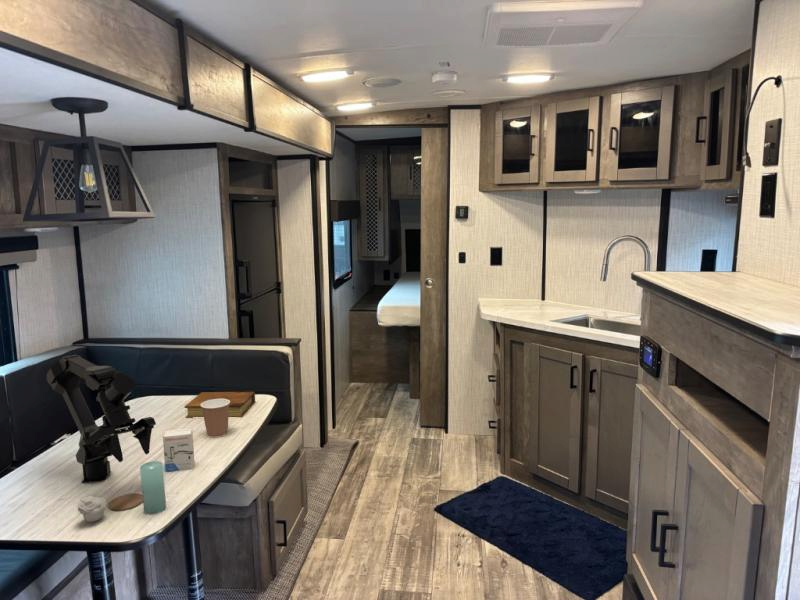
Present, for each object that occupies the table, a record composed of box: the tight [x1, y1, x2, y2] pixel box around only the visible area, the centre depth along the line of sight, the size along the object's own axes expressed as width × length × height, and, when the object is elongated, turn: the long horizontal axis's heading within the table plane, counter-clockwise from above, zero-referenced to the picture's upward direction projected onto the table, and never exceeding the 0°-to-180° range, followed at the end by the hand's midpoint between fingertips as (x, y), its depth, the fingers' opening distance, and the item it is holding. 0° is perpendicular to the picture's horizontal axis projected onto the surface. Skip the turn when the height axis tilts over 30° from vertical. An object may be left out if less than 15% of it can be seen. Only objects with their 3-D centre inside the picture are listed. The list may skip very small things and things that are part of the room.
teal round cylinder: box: [139, 460, 167, 515], centre depth 151 cm, size 6×6×12 cm
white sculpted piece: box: [76, 495, 107, 523], centre depth 146 cm, size 6×7×7 cm
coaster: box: [107, 492, 143, 512], centre depth 155 cm, size 9×9×1 cm
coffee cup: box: [201, 399, 230, 438], centre depth 204 cm, size 10×10×12 cm
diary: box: [184, 391, 256, 419], centre depth 232 cm, size 23×19×6 cm
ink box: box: [162, 428, 195, 473], centre depth 177 cm, size 9×5×12 cm, turn 105°
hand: (134, 457), depth 156 cm, fingers open, 9 cm apart
